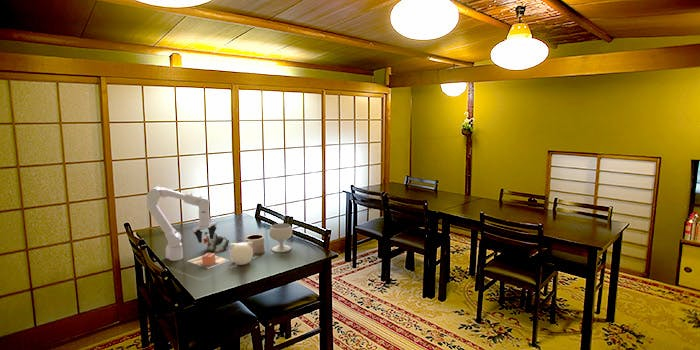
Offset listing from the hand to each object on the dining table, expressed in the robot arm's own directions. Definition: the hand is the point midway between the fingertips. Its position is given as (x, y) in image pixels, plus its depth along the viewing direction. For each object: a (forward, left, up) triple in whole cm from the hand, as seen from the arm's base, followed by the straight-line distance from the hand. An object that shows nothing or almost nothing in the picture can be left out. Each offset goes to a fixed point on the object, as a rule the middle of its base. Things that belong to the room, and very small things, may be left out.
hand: (205, 240), depth 222 cm
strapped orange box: (+13, -8, -8) cm, 17 cm away
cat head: (+26, +4, -10) cm, 28 cm away
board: (+9, -5, -10) cm, 14 cm away
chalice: (+28, +33, -10) cm, 44 cm away
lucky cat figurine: (-3, +9, -10) cm, 14 cm away
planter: (+18, +21, -10) cm, 29 cm away
